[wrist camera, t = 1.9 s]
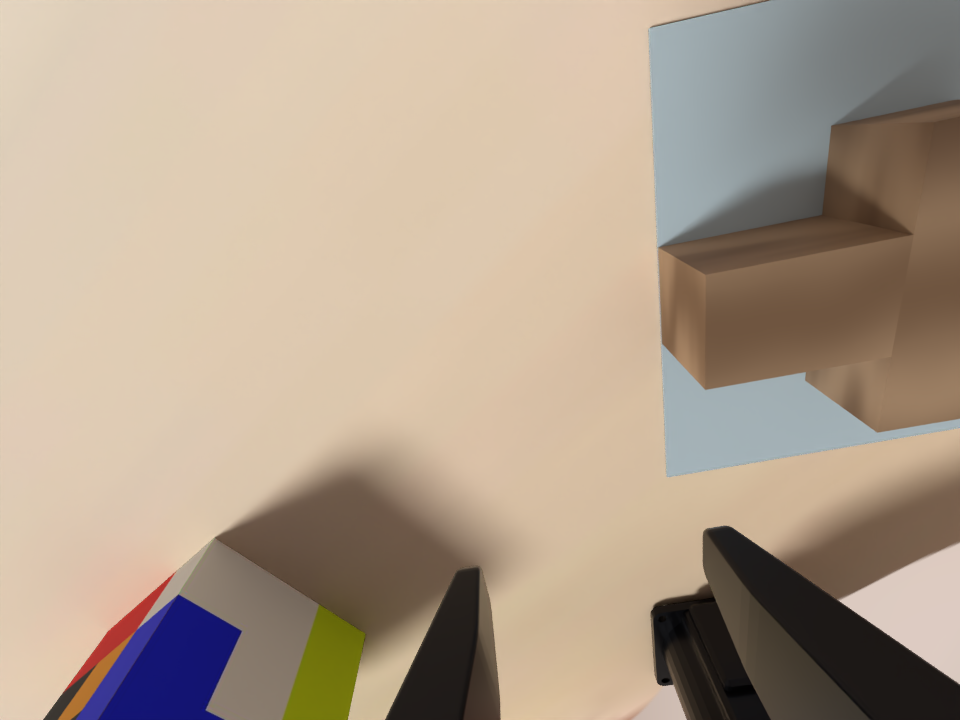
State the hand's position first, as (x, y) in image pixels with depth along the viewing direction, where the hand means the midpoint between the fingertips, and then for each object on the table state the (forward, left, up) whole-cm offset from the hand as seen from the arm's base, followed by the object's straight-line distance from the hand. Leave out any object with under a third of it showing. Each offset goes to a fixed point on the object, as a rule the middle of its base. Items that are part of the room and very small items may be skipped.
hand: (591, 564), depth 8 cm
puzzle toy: (-15, +18, -12) cm, 27 cm away
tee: (0, -11, -12) cm, 16 cm away
